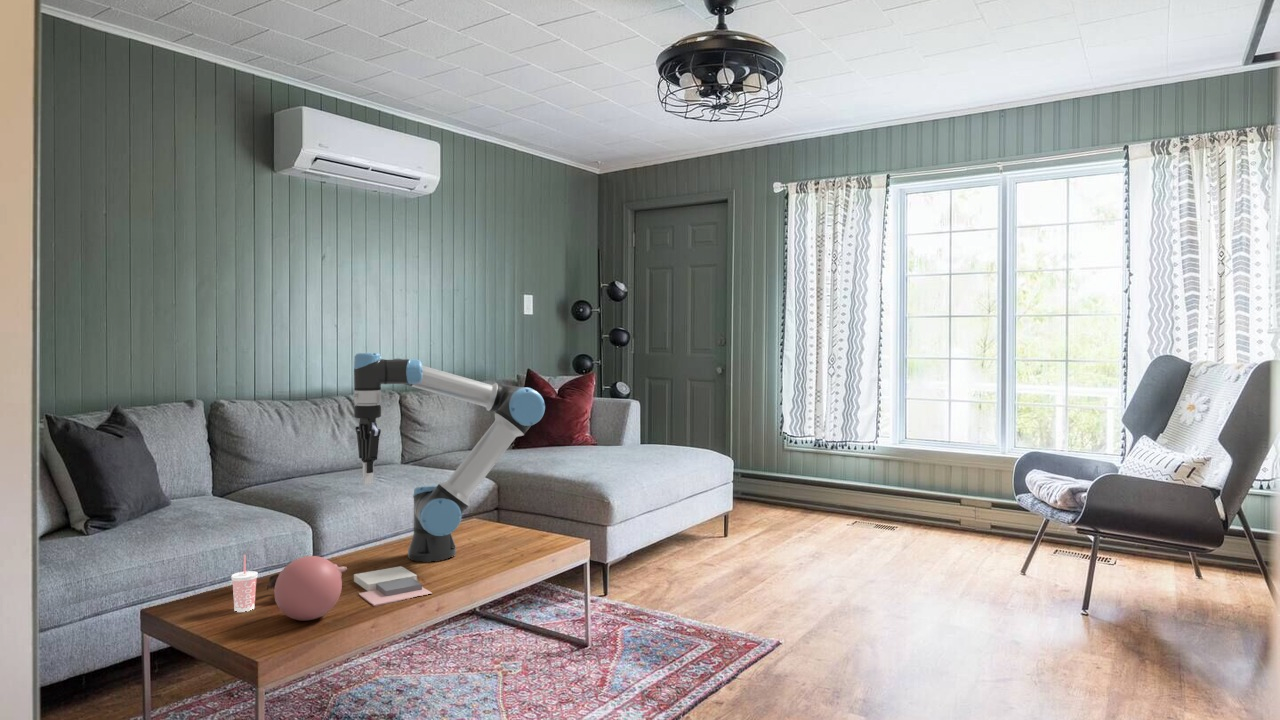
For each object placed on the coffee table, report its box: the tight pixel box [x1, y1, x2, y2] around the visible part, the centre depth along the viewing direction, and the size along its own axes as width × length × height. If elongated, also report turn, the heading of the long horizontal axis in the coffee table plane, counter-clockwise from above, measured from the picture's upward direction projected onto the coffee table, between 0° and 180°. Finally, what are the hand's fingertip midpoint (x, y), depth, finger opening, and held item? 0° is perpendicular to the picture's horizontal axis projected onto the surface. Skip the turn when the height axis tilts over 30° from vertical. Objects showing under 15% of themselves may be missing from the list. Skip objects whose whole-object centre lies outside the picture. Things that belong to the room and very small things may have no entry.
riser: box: [353, 565, 418, 592], centre depth 218 cm, size 14×12×2 cm
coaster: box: [376, 577, 423, 596], centre depth 210 cm, size 10×8×2 cm
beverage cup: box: [230, 554, 259, 613], centre depth 194 cm, size 6×6×14 cm
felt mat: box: [358, 586, 433, 607], centre depth 207 cm, size 16×12×1 cm
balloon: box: [273, 555, 348, 621], centre depth 190 cm, size 15×20×15 cm
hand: (368, 483), depth 225 cm, fingers closed
